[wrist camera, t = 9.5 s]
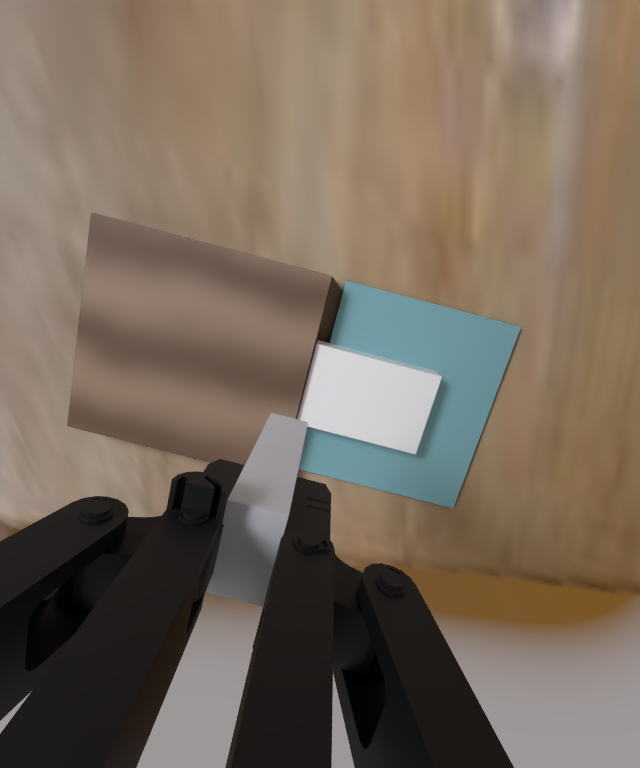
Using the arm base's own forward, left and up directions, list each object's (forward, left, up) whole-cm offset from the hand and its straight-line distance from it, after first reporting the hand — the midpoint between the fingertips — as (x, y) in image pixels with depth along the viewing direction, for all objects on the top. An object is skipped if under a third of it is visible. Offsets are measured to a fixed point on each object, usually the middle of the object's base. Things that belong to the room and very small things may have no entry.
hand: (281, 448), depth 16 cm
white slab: (0, +5, -15) cm, 16 cm away
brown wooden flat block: (0, -8, -15) cm, 17 cm away
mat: (0, +8, -15) cm, 17 cm away
